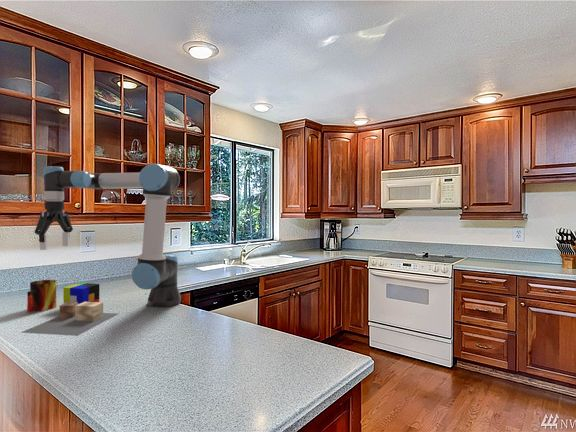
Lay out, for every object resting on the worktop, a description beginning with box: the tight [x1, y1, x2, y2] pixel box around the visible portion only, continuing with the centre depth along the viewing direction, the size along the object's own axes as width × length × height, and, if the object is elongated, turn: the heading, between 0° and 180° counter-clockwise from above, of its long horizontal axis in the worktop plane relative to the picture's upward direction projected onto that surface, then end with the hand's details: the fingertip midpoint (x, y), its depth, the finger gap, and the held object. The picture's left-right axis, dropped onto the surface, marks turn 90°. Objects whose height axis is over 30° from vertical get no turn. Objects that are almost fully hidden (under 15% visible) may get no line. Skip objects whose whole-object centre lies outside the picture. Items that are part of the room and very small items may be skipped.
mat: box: [21, 312, 119, 337], centre depth 143 cm, size 22×26×1 cm
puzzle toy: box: [63, 282, 100, 304], centre depth 163 cm, size 10×10×10 cm
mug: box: [26, 279, 57, 314], centre depth 159 cm, size 10×14×12 cm
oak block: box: [75, 301, 104, 321], centre depth 147 cm, size 8×6×6 cm
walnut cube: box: [58, 302, 78, 318], centre depth 150 cm, size 5×5×5 cm
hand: (55, 247), depth 164 cm, fingers open, 13 cm apart
